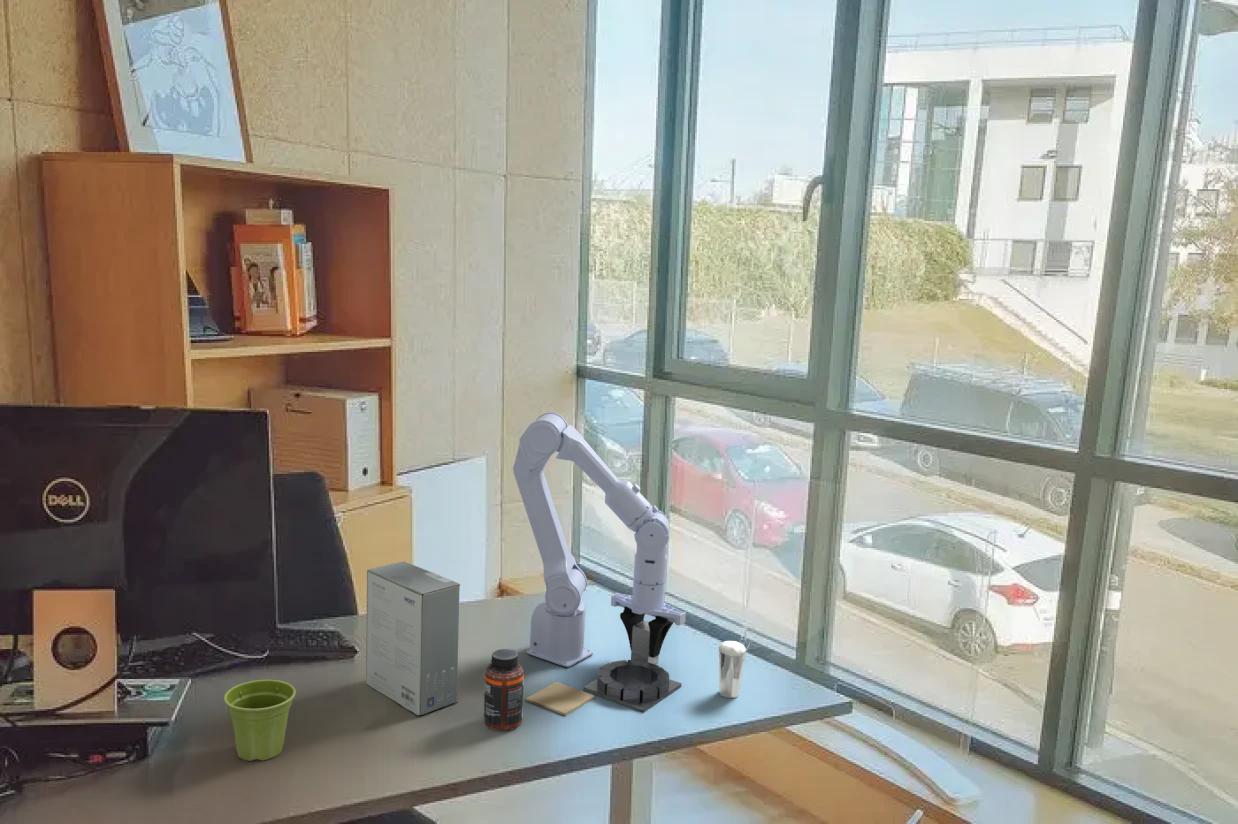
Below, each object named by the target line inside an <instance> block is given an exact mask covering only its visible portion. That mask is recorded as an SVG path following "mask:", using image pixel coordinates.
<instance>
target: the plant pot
mask: <svg viewBox="0 0 1238 824" xmlns="http://www.w3.org/2000/svg"><path fill="white" fill-rule="evenodd" d="M296 694H297V690H296V688H295V687H294V686H293V684H291V683H289V682H286V681H282V680H279V679H278V680H276V679H258V680H257V679H256V680H250V681H247V682H242V683H240V684H237V685H235V686H233V687H231V688H230V689H228V690H227V691H226V693H225V694H224V696H223V700H224V701H223V702H224V703H225V705H226V706H227V709H228V712H229V714H230V718H231V722H232V731H233V733H234V734H233V735H234V742H235V743H234V744H235V749H236V755H237V756H238V757H239V758H240V759H242V760H244V761H250V762H252V761H255V760H260V761H267V760H271V759H272V758H275V757H276V756H278V755H279V754H281V753H282V752H283V749H284V744H285V737H286V730H287V723H288V717H289V712H290V708H291V706H292V704H293V703H292V701H293V700H294V698H295V697H296Z"/></svg>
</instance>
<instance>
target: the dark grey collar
mask: <svg viewBox="0 0 1238 824" xmlns="http://www.w3.org/2000/svg"><path fill="white" fill-rule="evenodd" d="M682 687H683V686H682V683H681V682H678V681H676V680H672V679H670V673H669V672H668V671H667V670H666V669H664V668H663V667H662V666H659V665H657V664H652V663H649V662H644V663H643V661H636V660H631V659H628V660H625V659H622V660H616V661H611V662H607V663H606V664H603V666H601V667H599V668H598V672H597V679H594V680H593V681H591V682H589V683H588V684H586V685H585V686H583V690H582V691H583V692H586V693H589V694H592V695H594V696H598V697H601V698H602V699H603V698H604V699H605V700H606V699H607V700H609V701H612V702H615V703H617V704H620V705H623V706H625V707H628V708H631V709H634V710H637V711H639V712H642V713H645V712H647V711H648V710H650V709H651V708H653V707H655V706H656V705H657V704H659V703H660V702H661V701H662V700H664V699H666V698H667V697H668V696H670V695H672V694H673V693H674V692H676V691H677V690H679V689H680V688H682Z"/></svg>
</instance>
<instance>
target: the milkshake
mask: <svg viewBox="0 0 1238 824" xmlns="http://www.w3.org/2000/svg"><path fill="white" fill-rule="evenodd" d="M752 641H753V640H752V639H751V640H750V642H749V644H748V645H747V647H745V645H744V644H743V643H741V642H739V641H736V640H724V641H723V642H721V643H720V645H719V646H718V664H719V665H718V667H719V668H718V672H719V673H718V676H719V677H718V679H719V680H718V686H719V687H718V688H719V690H718V691H719V695H720V696H722V697H723V698H727V699H734V698H737V697H739V695H740V690H741V682H742V676H743V669H744V664H745V659H746V658H745V657H746V654H747V653H746V652H747V650H748V649H749V647H750V644H751V643H752Z"/></svg>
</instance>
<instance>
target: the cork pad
mask: <svg viewBox="0 0 1238 824" xmlns="http://www.w3.org/2000/svg"><path fill="white" fill-rule="evenodd" d="M595 696H596V695H595V694H592V693H589V692H586V691H583V690H580V689H577V688H575V687H572V686H569V685H567V684H564V683H561V682H559V681H555V682H553V683H551V684H550V685H547V686H545V687H544V688H542V689H540V690H538V691H537V692H535V693H533V694H531V695H529V696H527V697H525V701H526V702H528V703H531V704H534V705H535V706H538V707H542V708H544V709H546V710H549V711H552V712H555V713H557V714H559V715H563V716H567V715H569V714H570V713H572V712H574V711H576V710H577V709H579V708H580V707H582V706H584V705H585V704H587V703H589V702H590V701H592V700H594V699H595V698H596V697H595Z"/></svg>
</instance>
